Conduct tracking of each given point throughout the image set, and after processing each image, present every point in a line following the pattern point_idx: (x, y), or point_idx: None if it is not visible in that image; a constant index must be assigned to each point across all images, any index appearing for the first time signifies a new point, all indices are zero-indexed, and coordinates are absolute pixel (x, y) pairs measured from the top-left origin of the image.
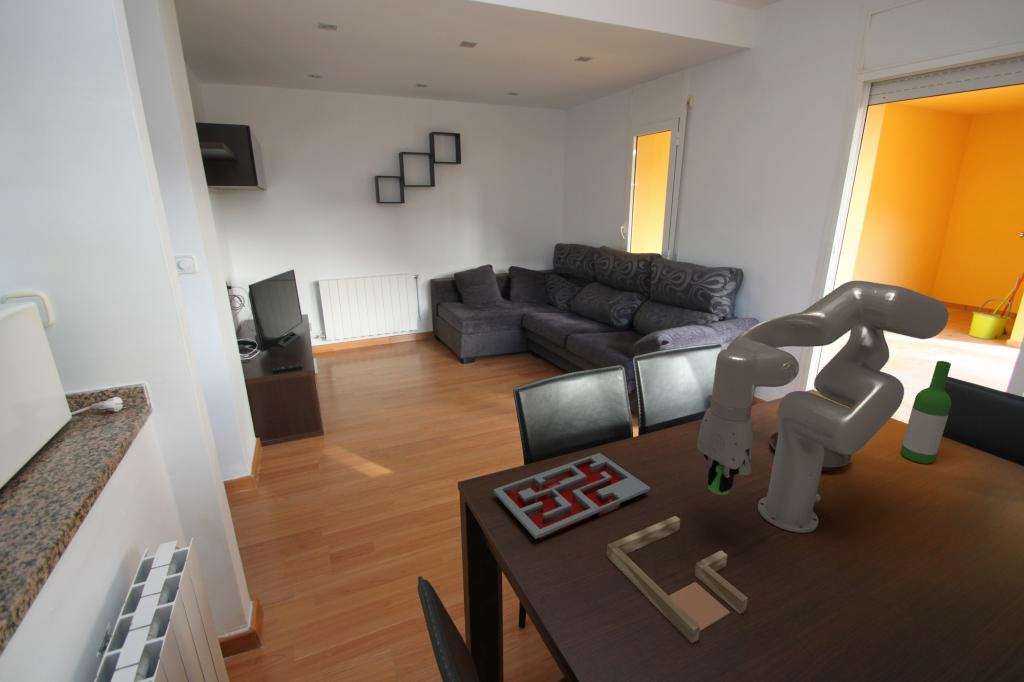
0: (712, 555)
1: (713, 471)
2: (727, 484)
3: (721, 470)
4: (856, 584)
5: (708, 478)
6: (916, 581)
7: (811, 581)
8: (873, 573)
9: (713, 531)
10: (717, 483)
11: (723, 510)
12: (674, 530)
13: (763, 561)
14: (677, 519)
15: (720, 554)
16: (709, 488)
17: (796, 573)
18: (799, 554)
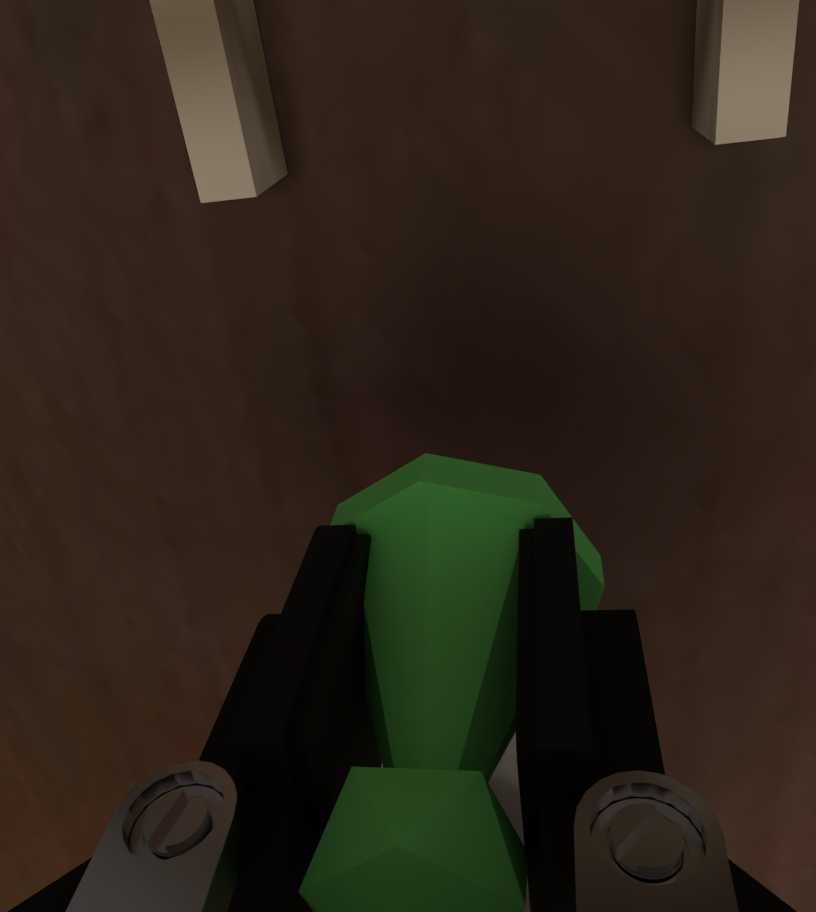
0: (224, 73)
1: (516, 741)
2: (244, 671)
3: (345, 854)
4: (14, 662)
5: (575, 580)
6: (7, 822)
7: (51, 527)
8: (60, 756)
9: (548, 374)
10: (410, 599)
11: (673, 584)
12: (698, 62)
13: (221, 437)
14: (732, 115)
15: (216, 150)
16: (510, 476)
17: (109, 512)
18: (219, 627)
